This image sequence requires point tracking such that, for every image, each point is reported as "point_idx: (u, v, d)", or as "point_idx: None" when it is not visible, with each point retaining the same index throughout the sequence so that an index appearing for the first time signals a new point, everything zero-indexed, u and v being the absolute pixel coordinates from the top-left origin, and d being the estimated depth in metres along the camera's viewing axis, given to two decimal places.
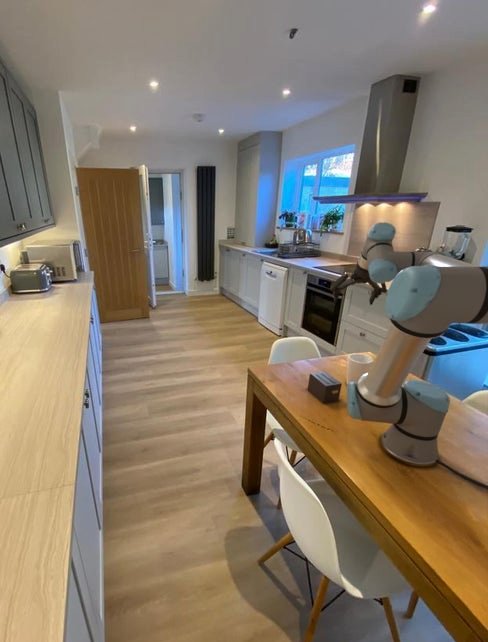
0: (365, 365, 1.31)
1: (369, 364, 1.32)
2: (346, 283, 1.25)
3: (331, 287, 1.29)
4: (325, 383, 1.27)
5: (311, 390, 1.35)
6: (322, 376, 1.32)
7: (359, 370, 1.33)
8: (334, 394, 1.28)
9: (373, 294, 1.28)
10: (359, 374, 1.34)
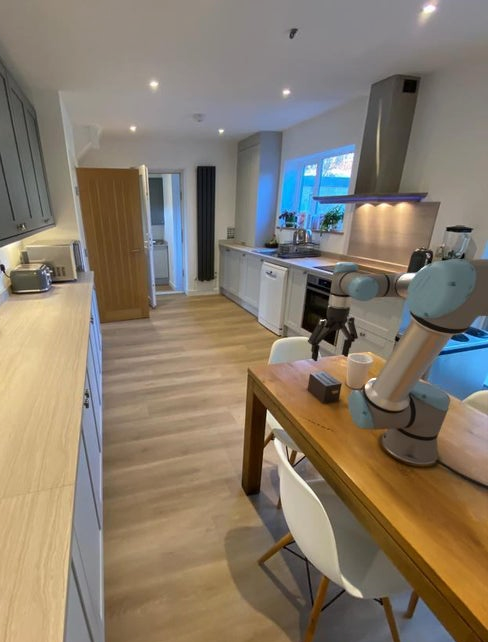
0: (365, 365, 1.31)
1: (369, 364, 1.32)
2: (323, 333, 1.21)
3: (310, 341, 1.22)
4: (325, 383, 1.27)
5: (311, 390, 1.35)
6: (322, 376, 1.32)
7: (359, 370, 1.33)
8: (334, 394, 1.28)
9: (346, 344, 1.26)
10: (359, 374, 1.34)
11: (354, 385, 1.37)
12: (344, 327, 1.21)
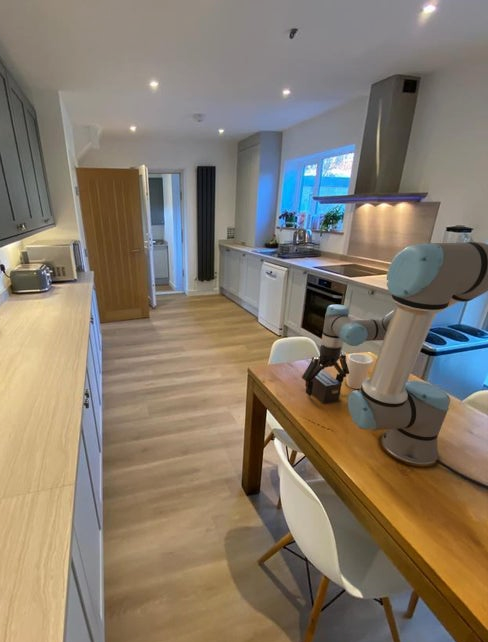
0: (365, 365, 1.31)
1: (369, 364, 1.32)
2: (316, 369, 1.27)
3: (304, 377, 1.28)
4: (325, 383, 1.27)
5: None
6: (322, 376, 1.32)
7: (359, 370, 1.33)
8: (334, 394, 1.28)
9: (338, 379, 1.33)
10: (359, 374, 1.34)
11: (354, 385, 1.37)
12: (336, 364, 1.27)
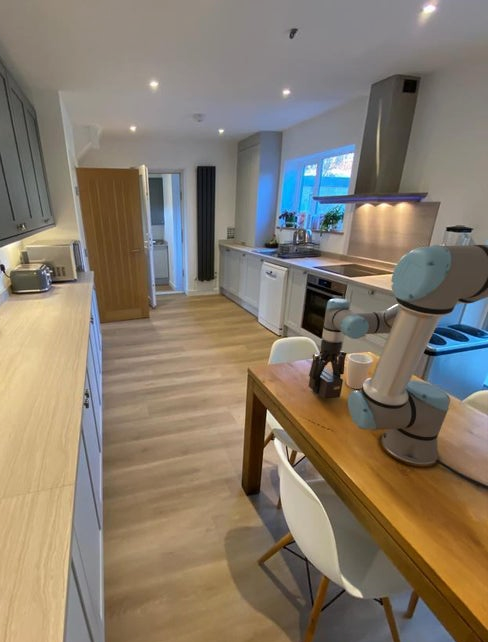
0: (365, 365, 1.31)
1: (369, 364, 1.32)
2: (320, 366, 1.27)
3: (311, 376, 1.28)
4: (326, 379, 1.26)
5: (312, 387, 1.34)
6: (323, 372, 1.31)
7: (359, 370, 1.33)
8: (335, 390, 1.27)
9: None
10: (359, 374, 1.34)
11: (354, 385, 1.37)
12: (336, 360, 1.26)
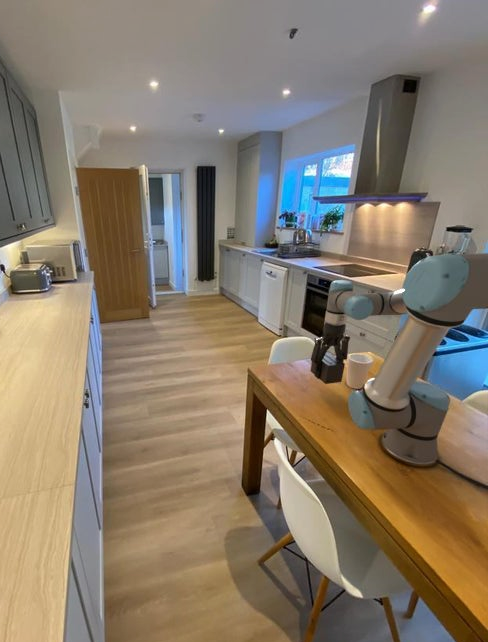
0: (365, 365, 1.31)
1: (369, 364, 1.32)
2: None
3: None
4: (328, 354, 1.31)
5: None
6: (331, 360, 1.26)
7: (359, 370, 1.33)
8: None
9: None
10: (359, 374, 1.34)
11: (354, 385, 1.37)
12: None
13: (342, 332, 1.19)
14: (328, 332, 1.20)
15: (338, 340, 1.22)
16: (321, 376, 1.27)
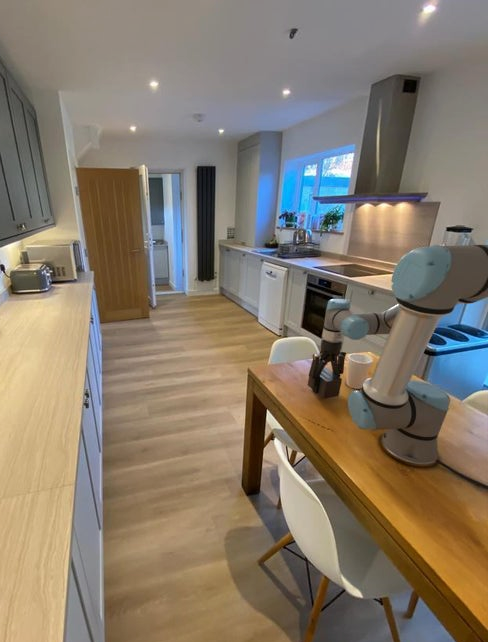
0: (365, 365, 1.31)
1: (369, 364, 1.32)
2: None
3: None
4: (325, 369, 1.34)
5: None
6: (328, 375, 1.29)
7: (359, 370, 1.33)
8: None
9: None
10: (359, 374, 1.34)
11: (354, 385, 1.37)
12: None
13: (339, 349, 1.22)
14: (326, 349, 1.23)
15: (335, 356, 1.25)
16: (319, 391, 1.30)
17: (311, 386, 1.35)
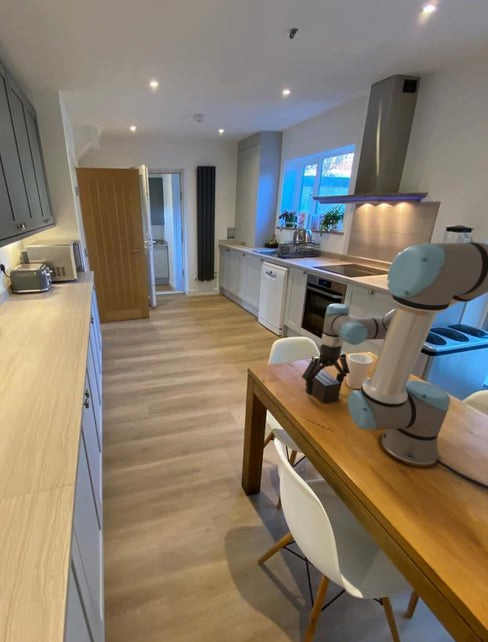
0: (365, 365, 1.31)
1: (369, 364, 1.32)
2: None
3: None
4: (324, 373, 1.35)
5: None
6: (327, 379, 1.30)
7: (359, 370, 1.33)
8: None
9: None
10: (359, 374, 1.34)
11: (354, 385, 1.37)
12: None
13: (338, 353, 1.23)
14: (325, 353, 1.23)
15: (334, 360, 1.26)
16: (318, 395, 1.31)
17: None
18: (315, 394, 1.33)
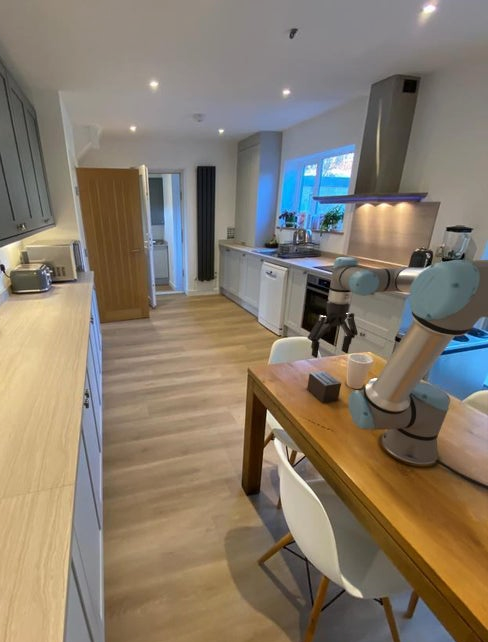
0: (365, 365, 1.31)
1: (369, 364, 1.32)
2: None
3: None
4: (324, 373, 1.35)
5: None
6: (327, 379, 1.30)
7: (359, 370, 1.33)
8: None
9: None
10: (359, 374, 1.34)
11: (354, 385, 1.37)
12: None
13: (346, 311, 1.16)
14: (332, 311, 1.16)
15: (342, 320, 1.19)
16: (318, 395, 1.31)
17: (310, 390, 1.36)
18: (315, 394, 1.33)
